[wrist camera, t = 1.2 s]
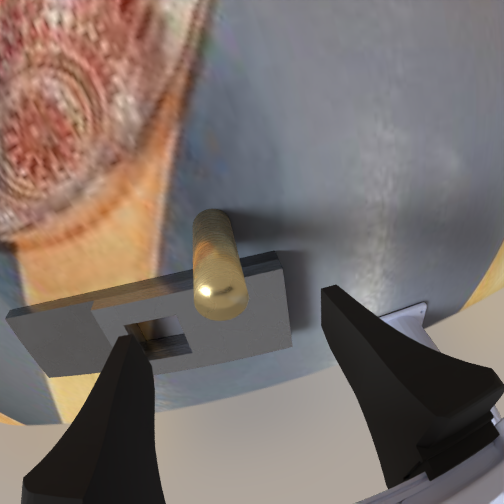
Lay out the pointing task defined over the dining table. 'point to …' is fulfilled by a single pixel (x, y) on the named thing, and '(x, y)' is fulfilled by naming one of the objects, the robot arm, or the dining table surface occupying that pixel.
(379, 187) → the dining table surface
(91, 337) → the link
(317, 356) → the dining table surface
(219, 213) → the pin
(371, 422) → the robot arm
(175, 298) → the link
